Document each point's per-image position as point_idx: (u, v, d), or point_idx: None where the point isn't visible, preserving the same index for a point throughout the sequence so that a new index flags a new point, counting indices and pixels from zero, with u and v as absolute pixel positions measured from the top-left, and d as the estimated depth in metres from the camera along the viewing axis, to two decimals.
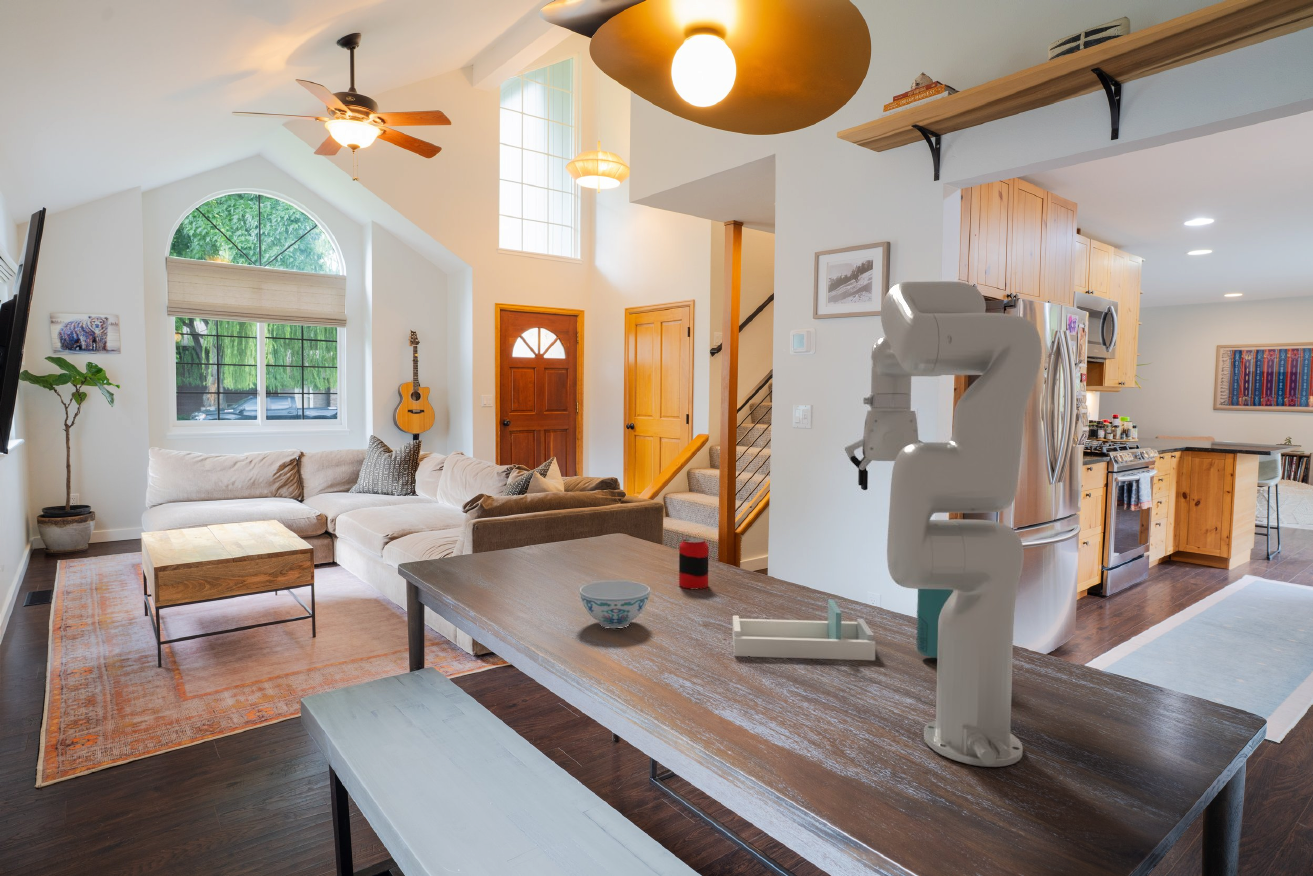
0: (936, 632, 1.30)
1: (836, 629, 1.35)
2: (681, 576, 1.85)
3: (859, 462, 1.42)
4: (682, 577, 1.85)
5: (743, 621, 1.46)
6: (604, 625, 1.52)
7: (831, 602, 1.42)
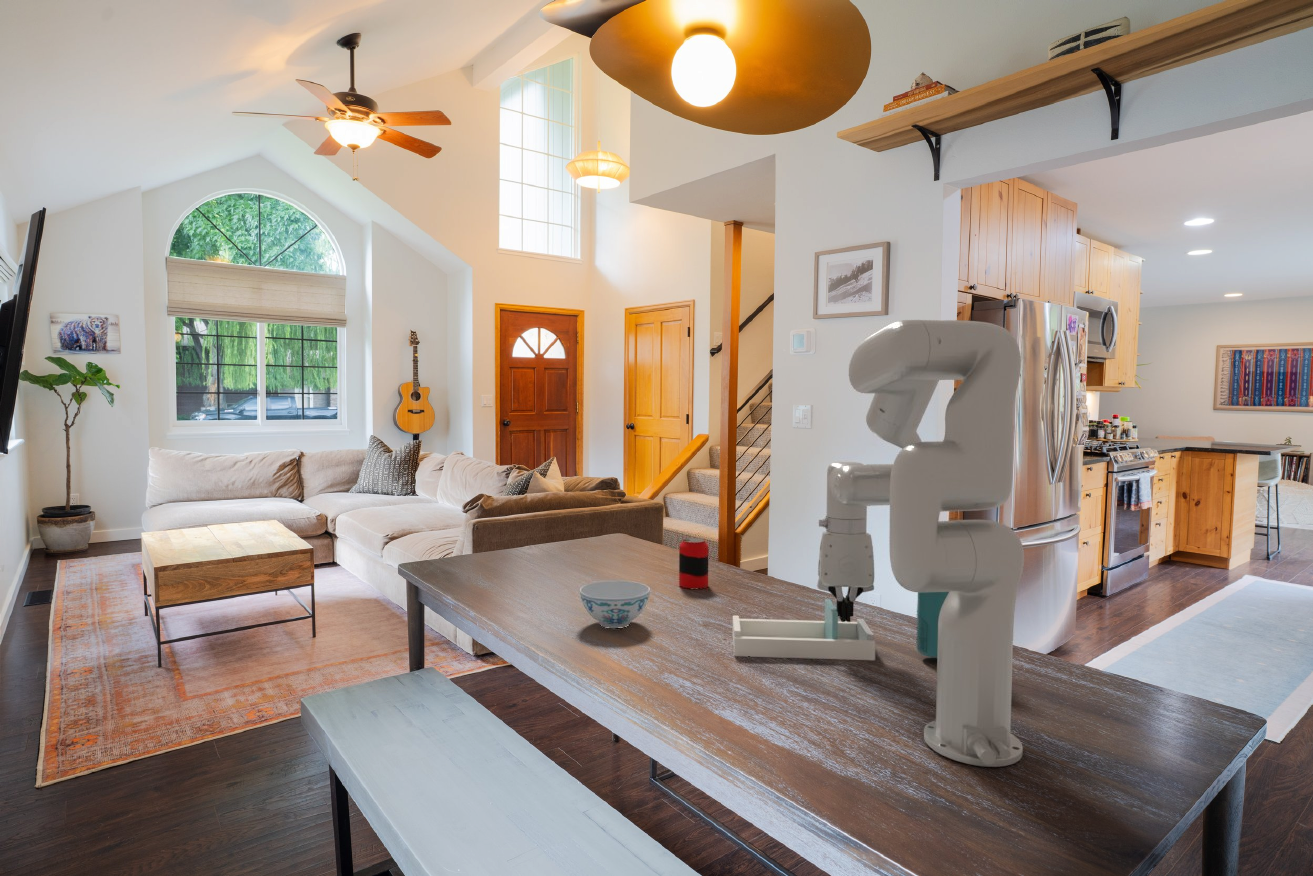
0: (936, 632, 1.30)
1: (833, 629, 1.35)
2: (681, 576, 1.85)
3: (834, 596, 1.39)
4: (682, 577, 1.85)
5: (743, 621, 1.46)
6: (604, 625, 1.52)
7: (828, 602, 1.42)
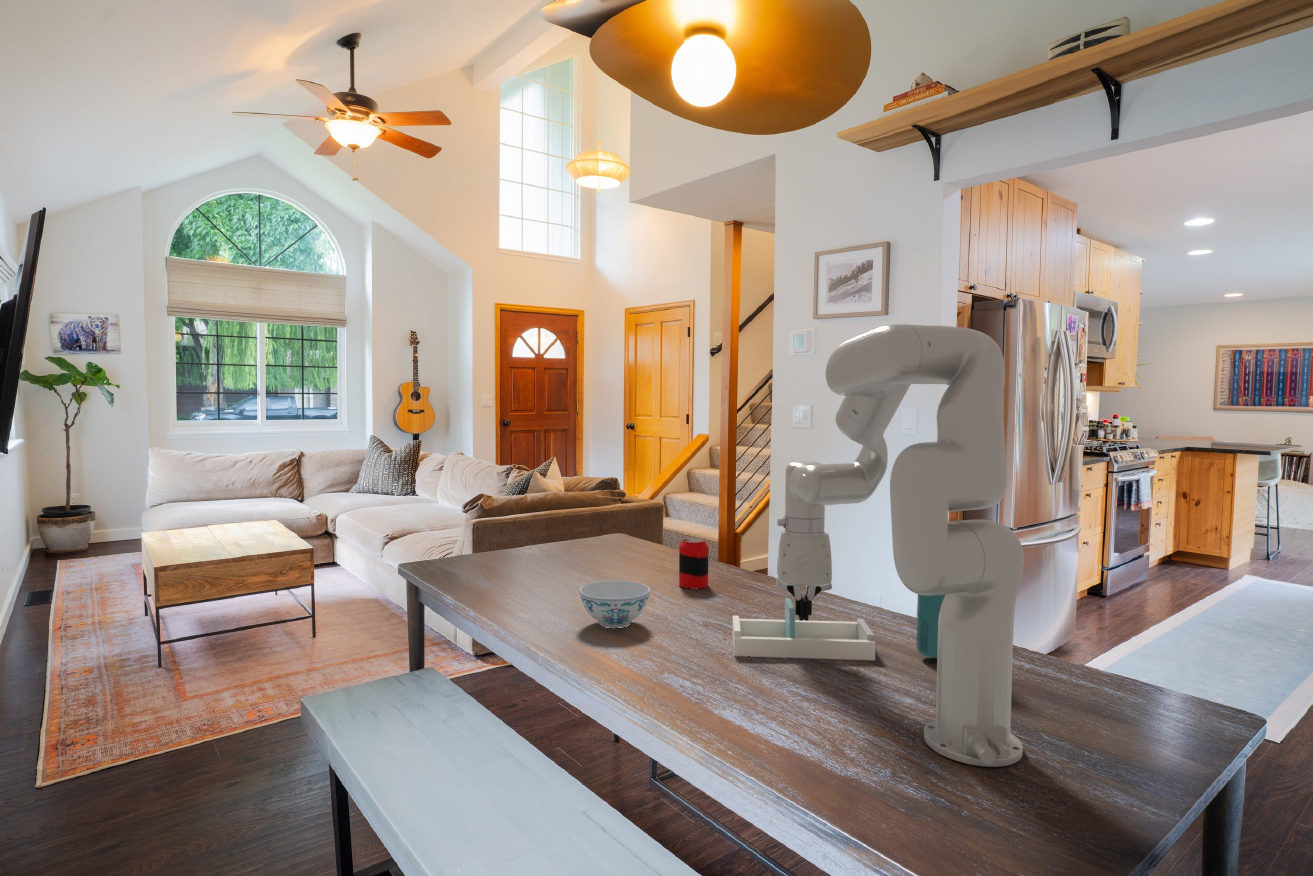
0: (936, 632, 1.30)
1: (790, 628, 1.36)
2: (681, 576, 1.85)
3: (793, 595, 1.39)
4: (682, 577, 1.85)
5: (743, 621, 1.46)
6: (604, 625, 1.52)
7: (787, 601, 1.43)
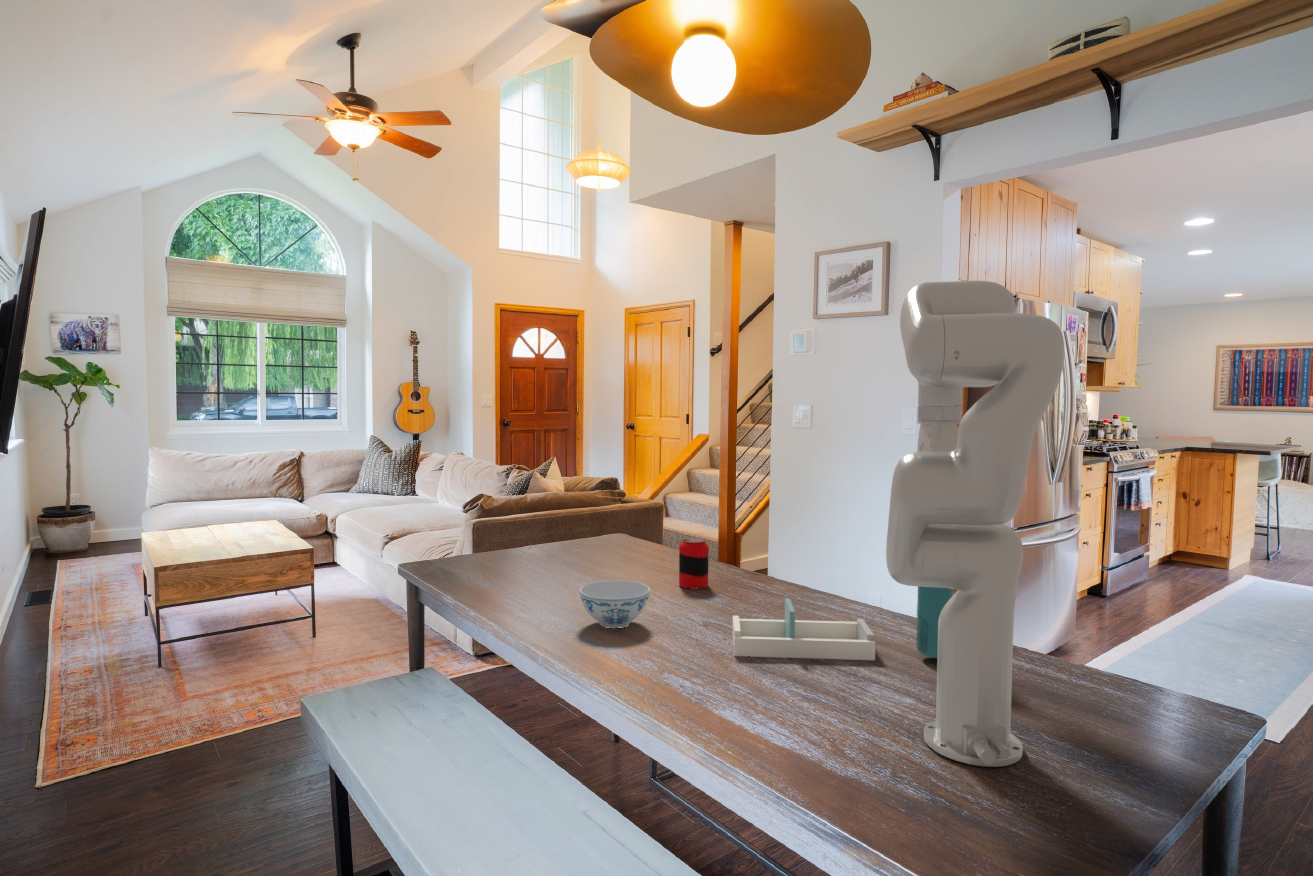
0: (936, 632, 1.30)
1: (790, 628, 1.36)
2: (681, 576, 1.85)
3: None
4: (682, 577, 1.85)
5: (743, 621, 1.46)
6: (604, 625, 1.52)
7: (787, 601, 1.43)
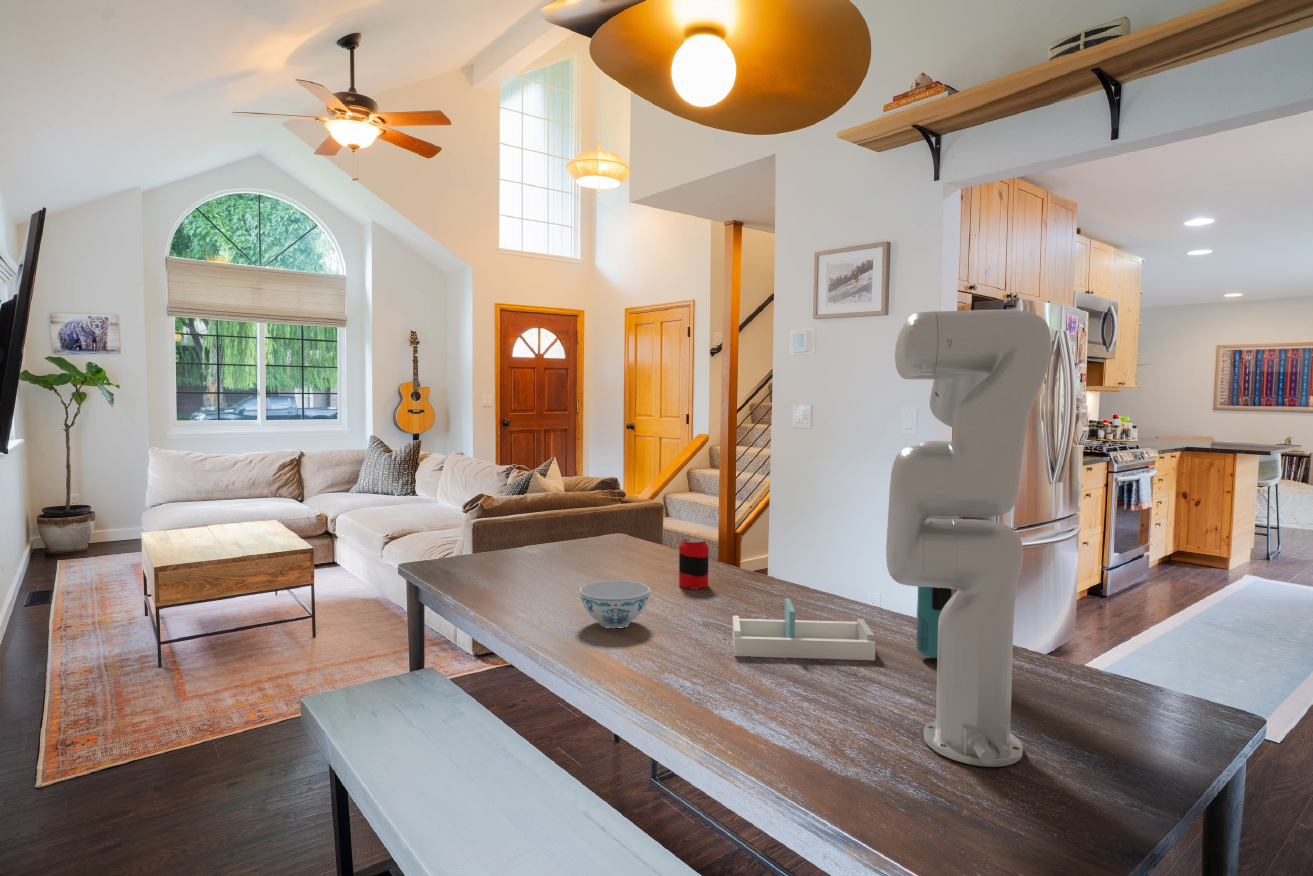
0: (936, 632, 1.30)
1: (790, 628, 1.36)
2: (681, 576, 1.85)
3: None
4: (682, 577, 1.85)
5: (743, 621, 1.46)
6: (604, 625, 1.52)
7: (787, 601, 1.43)
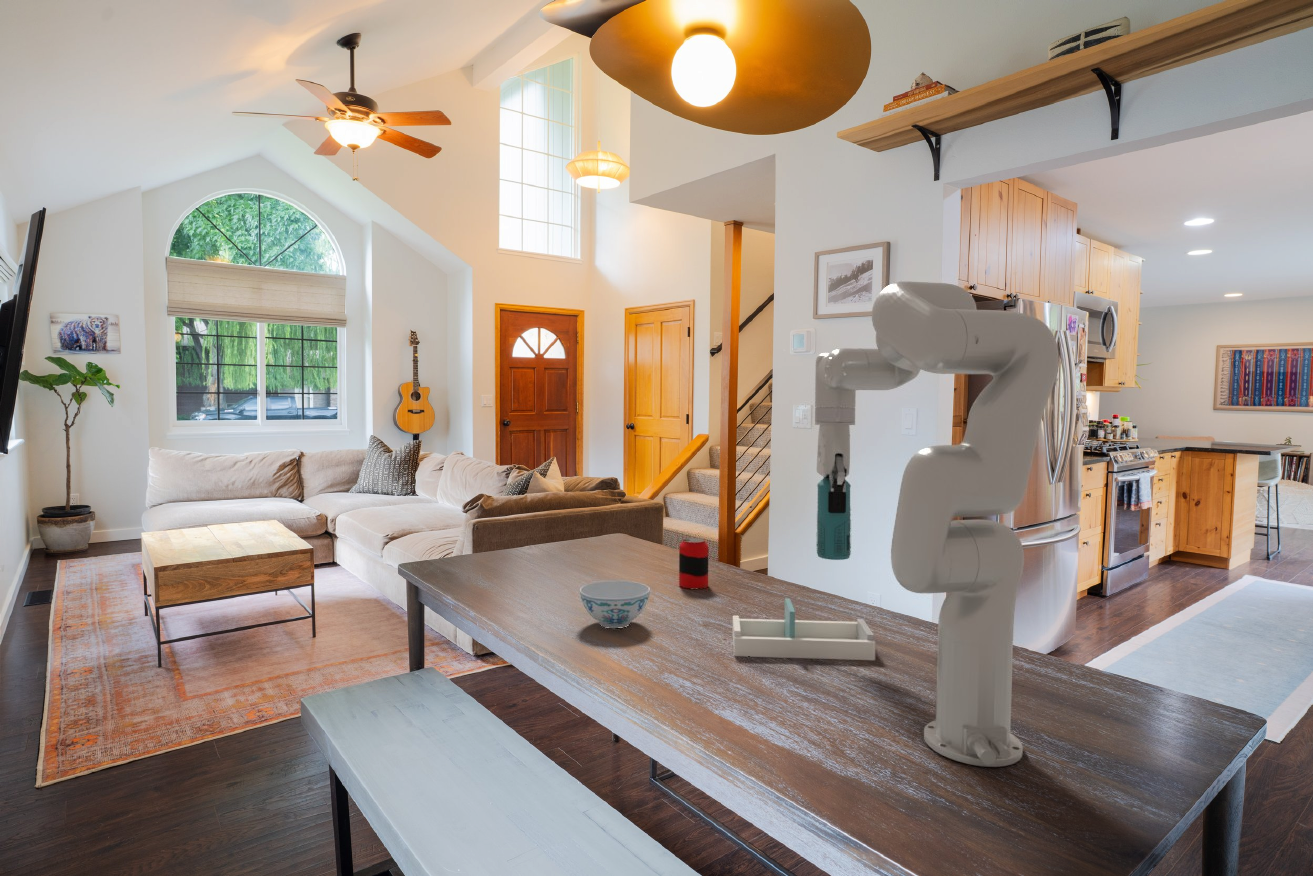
0: (833, 535, 1.36)
1: (790, 628, 1.36)
2: (681, 576, 1.85)
3: None
4: (682, 577, 1.85)
5: (743, 621, 1.46)
6: (604, 625, 1.52)
7: (787, 601, 1.43)
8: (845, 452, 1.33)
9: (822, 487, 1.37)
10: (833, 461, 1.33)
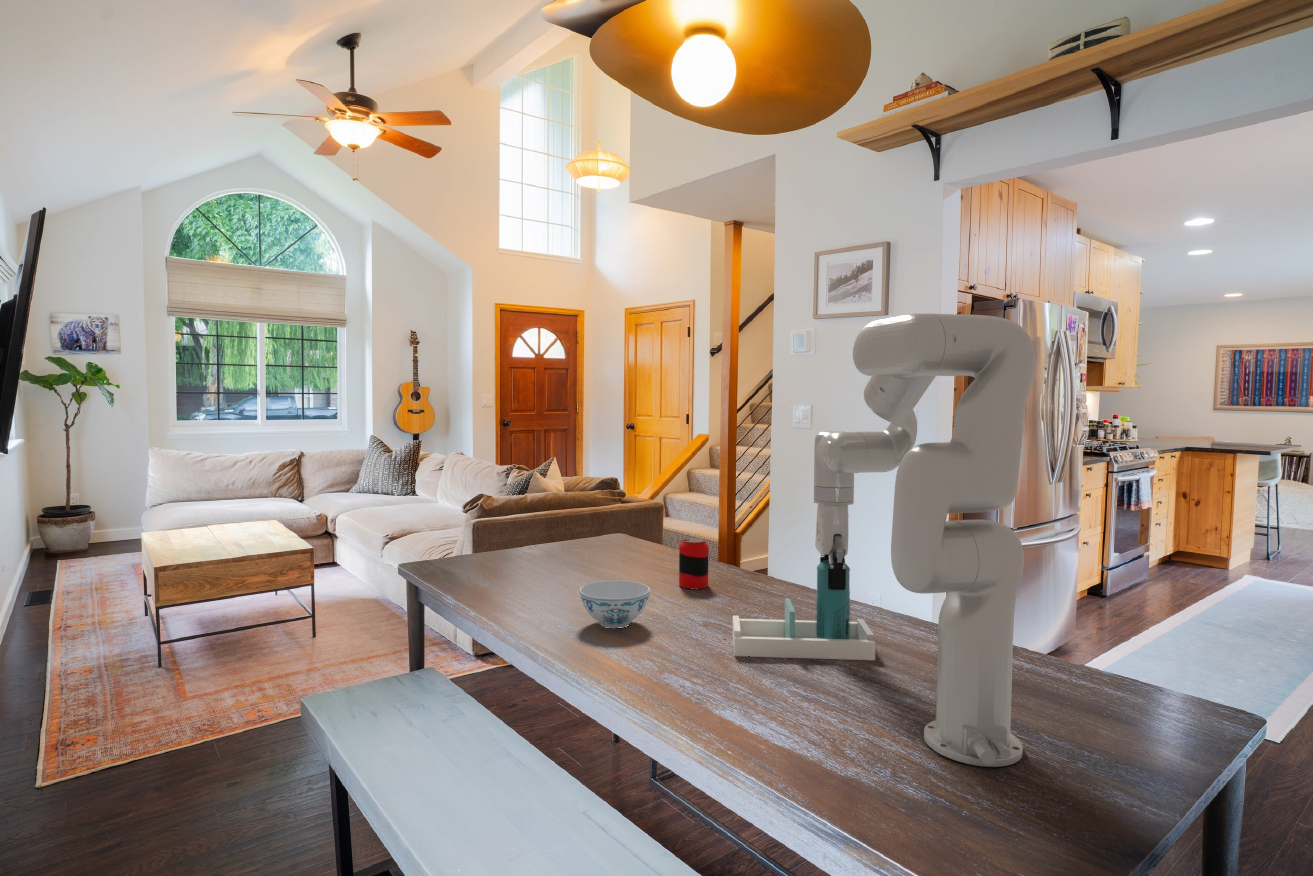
0: (832, 619, 1.36)
1: (790, 628, 1.36)
2: (681, 576, 1.85)
3: None
4: (682, 577, 1.85)
5: (743, 621, 1.46)
6: (604, 625, 1.52)
7: (787, 601, 1.43)
8: (844, 533, 1.34)
9: (821, 572, 1.37)
10: (832, 542, 1.34)
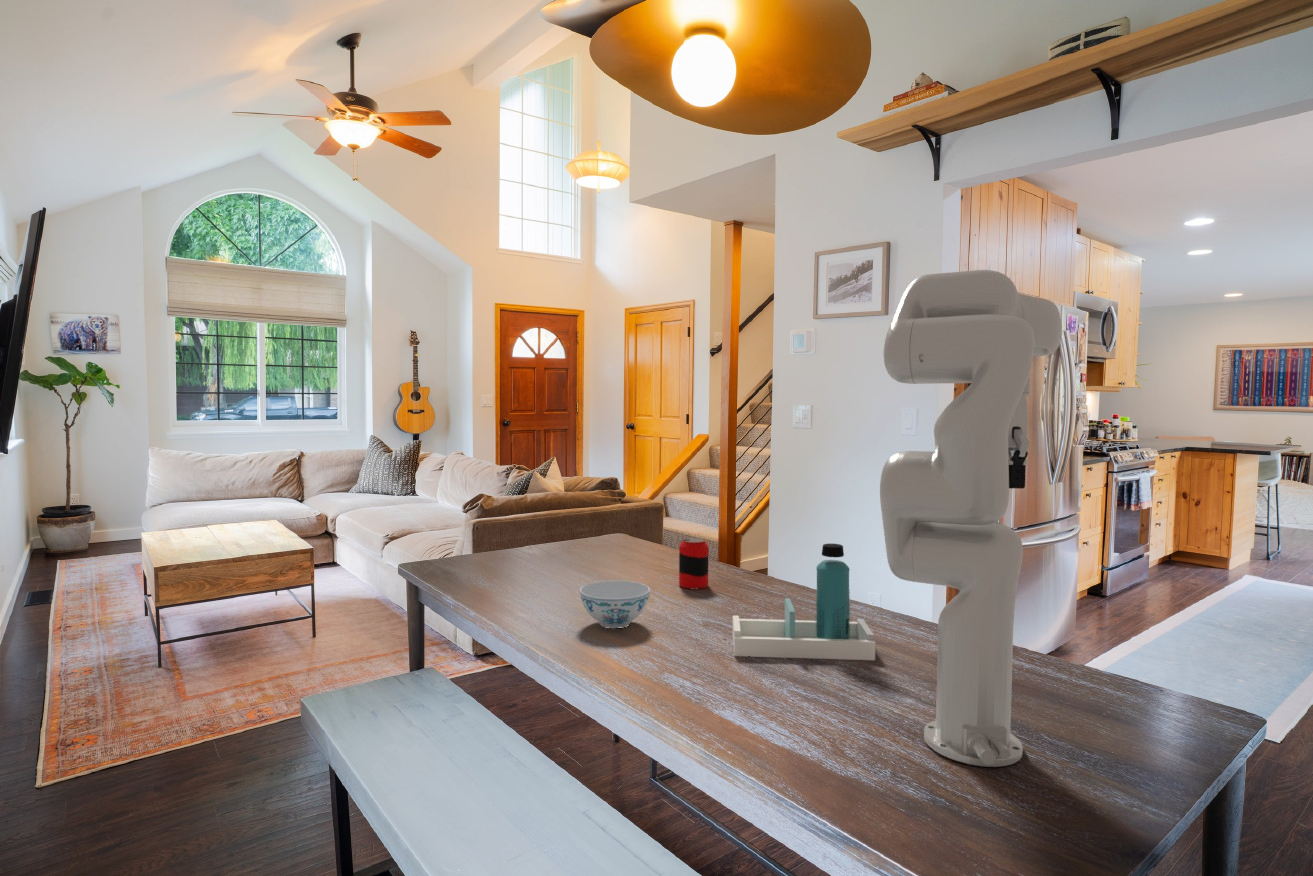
0: (832, 619, 1.37)
1: (790, 628, 1.36)
2: (681, 576, 1.85)
3: None
4: (682, 577, 1.85)
5: (743, 621, 1.46)
6: (604, 625, 1.52)
7: (787, 601, 1.43)
8: (1023, 426, 1.22)
9: (821, 572, 1.37)
10: (1010, 435, 1.22)
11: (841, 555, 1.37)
